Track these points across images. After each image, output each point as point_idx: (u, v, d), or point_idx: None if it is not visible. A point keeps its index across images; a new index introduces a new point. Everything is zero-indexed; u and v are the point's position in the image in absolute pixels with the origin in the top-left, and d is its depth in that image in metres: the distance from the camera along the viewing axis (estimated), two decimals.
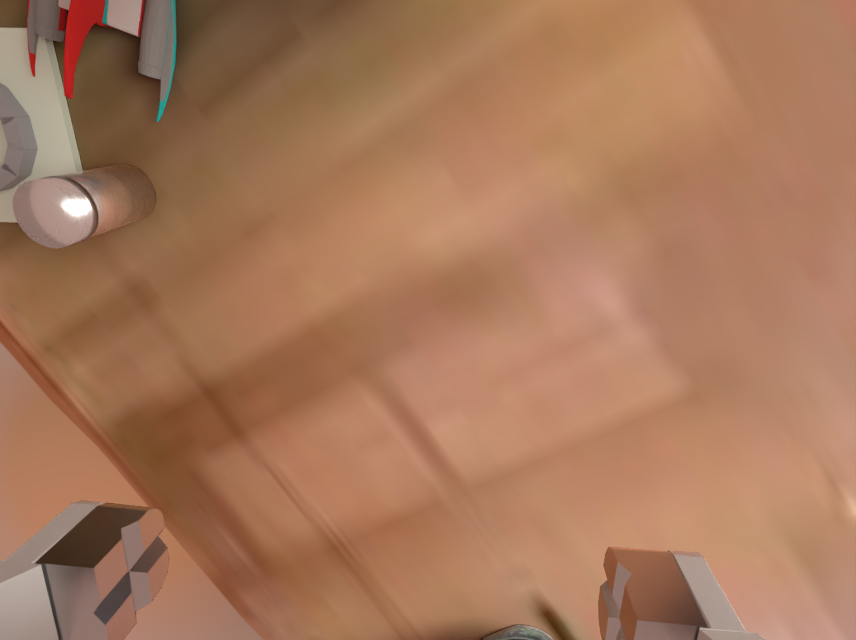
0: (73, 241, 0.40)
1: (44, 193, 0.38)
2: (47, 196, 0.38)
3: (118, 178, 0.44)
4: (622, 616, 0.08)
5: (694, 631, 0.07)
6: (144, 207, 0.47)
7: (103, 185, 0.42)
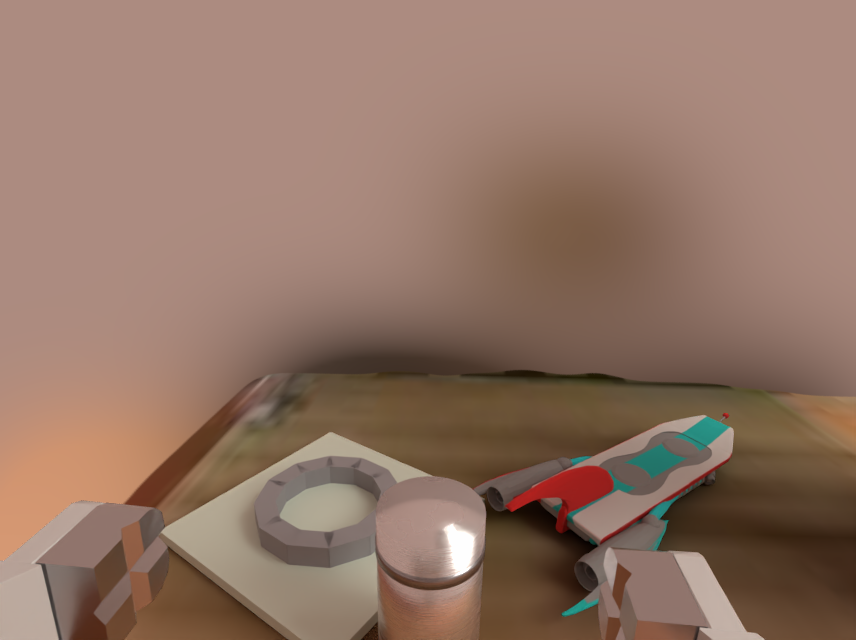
0: (433, 552, 0.22)
1: (455, 494, 0.25)
2: (456, 498, 0.25)
3: None
4: (622, 616, 0.08)
5: (694, 631, 0.07)
6: None
7: None
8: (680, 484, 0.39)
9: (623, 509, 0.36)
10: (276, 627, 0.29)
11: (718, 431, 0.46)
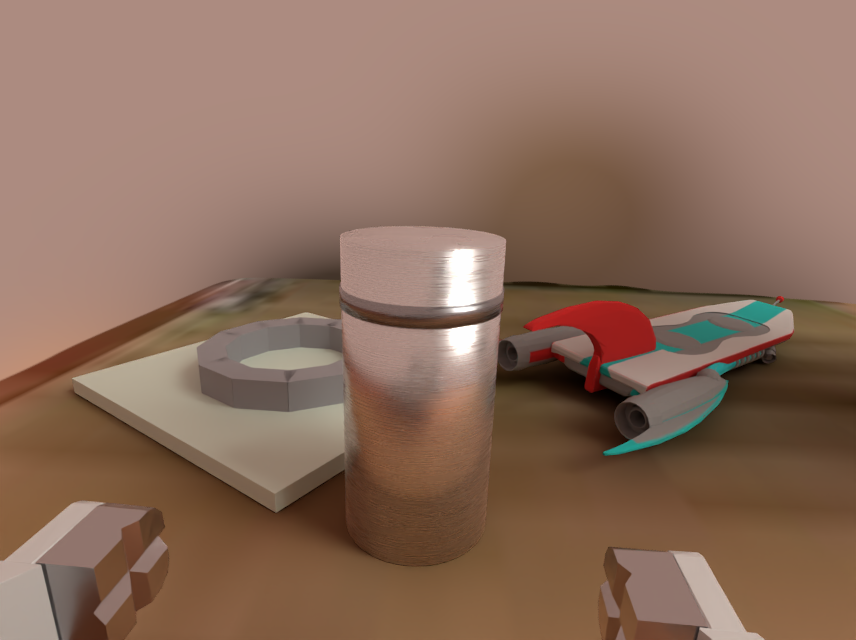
0: (426, 257, 0.14)
1: (460, 233, 0.17)
2: (461, 234, 0.17)
3: None
4: (622, 616, 0.08)
5: (694, 631, 0.07)
6: (457, 514, 0.17)
7: None
8: (738, 349, 0.31)
9: (671, 364, 0.28)
10: (207, 466, 0.21)
11: (773, 312, 0.38)
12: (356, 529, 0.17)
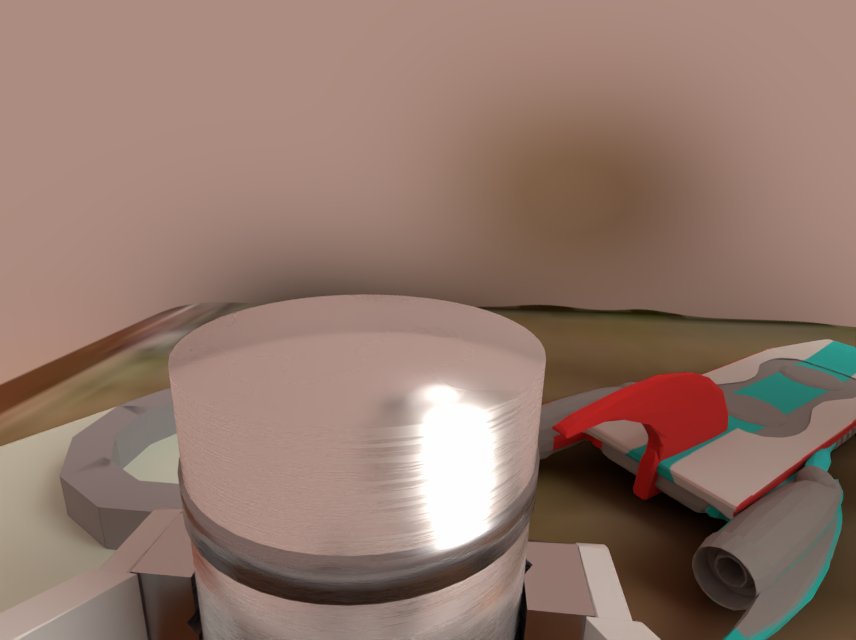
0: (347, 441, 0.05)
1: (446, 319, 0.08)
2: (448, 324, 0.08)
3: None
4: (521, 606, 0.08)
5: (582, 620, 0.07)
6: None
7: None
8: (838, 423, 0.23)
9: (757, 457, 0.20)
10: None
11: None
12: None
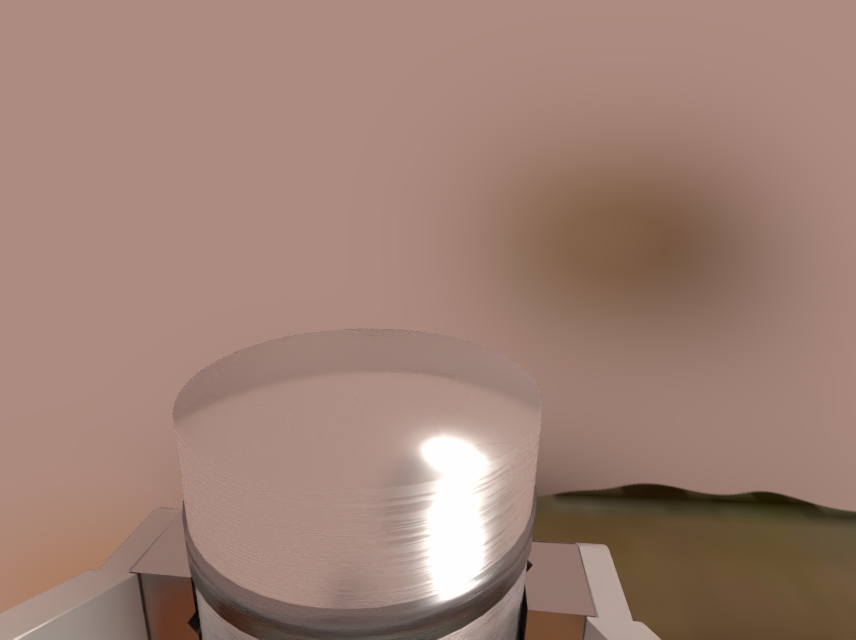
0: (348, 501, 0.05)
1: (445, 357, 0.09)
2: (447, 364, 0.08)
3: None
4: (522, 606, 0.08)
5: (582, 620, 0.07)
6: None
7: None
8: None
9: None
10: None
11: None
12: None
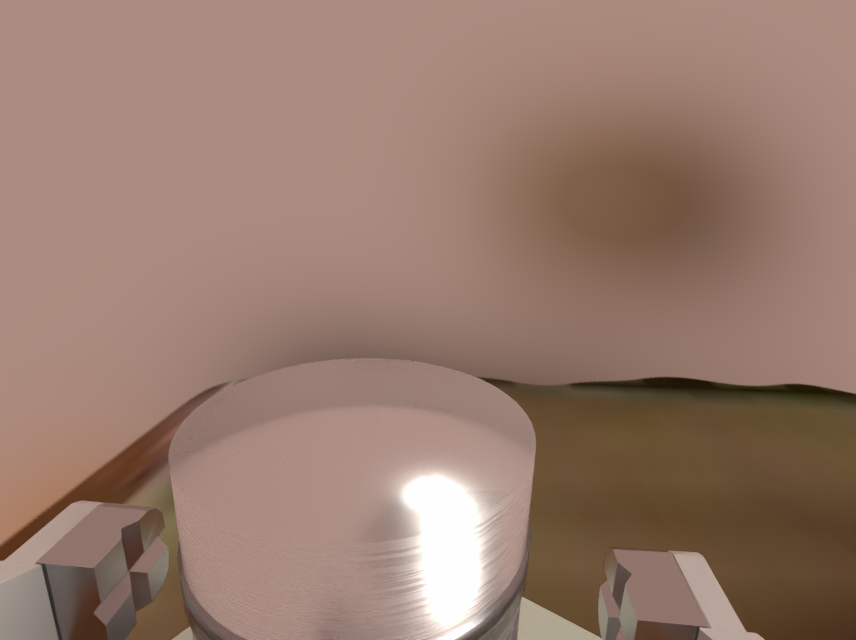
0: (340, 555, 0.05)
1: (440, 391, 0.09)
2: (442, 399, 0.08)
3: None
4: (622, 616, 0.08)
5: (694, 631, 0.07)
6: None
7: None
8: None
9: None
10: None
11: None
12: None
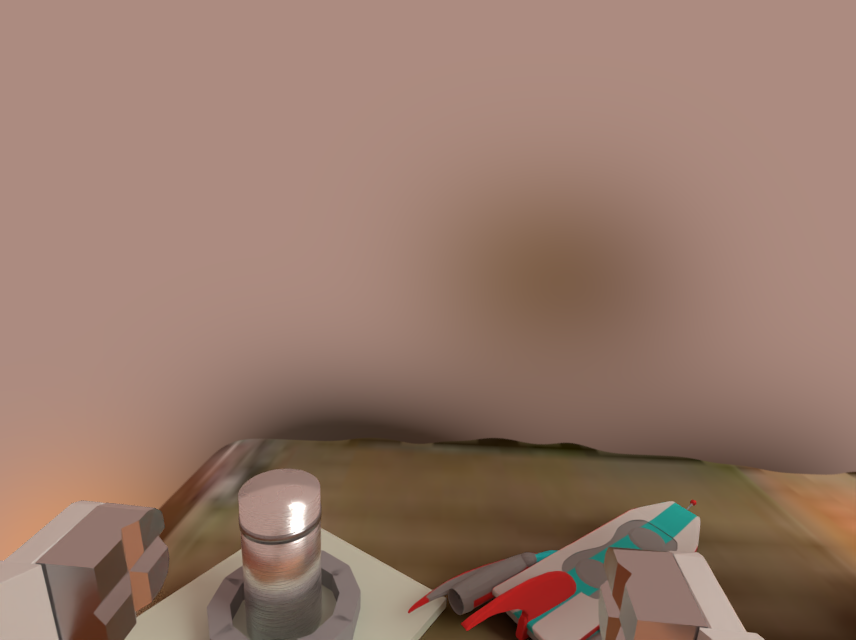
0: (270, 516, 0.31)
1: (302, 480, 0.35)
2: (301, 483, 0.34)
3: None
4: (622, 616, 0.08)
5: (694, 631, 0.07)
6: (296, 623, 0.34)
7: (320, 545, 0.35)
8: None
9: (584, 617, 0.36)
10: None
11: (685, 520, 0.46)
12: (248, 629, 0.35)
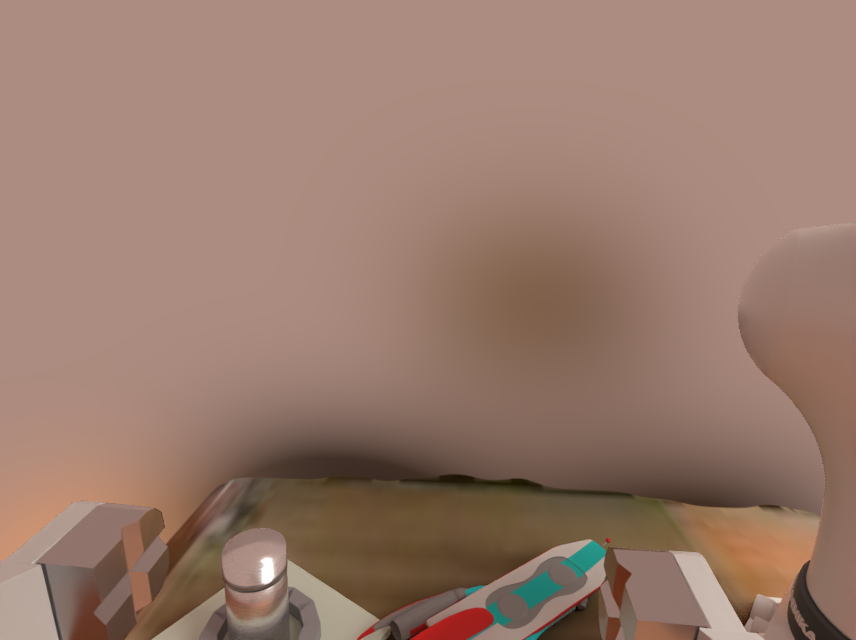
0: (244, 572, 0.41)
1: (273, 539, 0.44)
2: (272, 542, 0.44)
3: (288, 608, 0.45)
4: (622, 616, 0.08)
5: (694, 631, 0.07)
6: None
7: (286, 589, 0.45)
8: (550, 616, 0.48)
9: None
10: None
11: (598, 557, 0.55)
12: None
